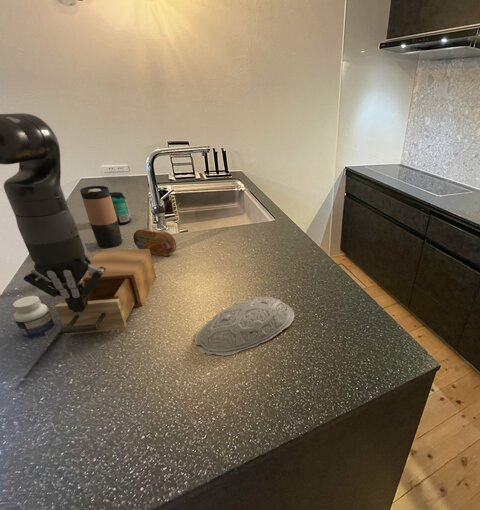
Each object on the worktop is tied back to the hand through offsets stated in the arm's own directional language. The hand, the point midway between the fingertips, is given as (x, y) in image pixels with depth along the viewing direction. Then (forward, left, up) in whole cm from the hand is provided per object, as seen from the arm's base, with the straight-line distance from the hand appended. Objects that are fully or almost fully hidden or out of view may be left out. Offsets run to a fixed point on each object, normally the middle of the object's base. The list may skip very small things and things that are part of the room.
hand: (80, 309), depth 64 cm
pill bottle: (-11, +4, -9) cm, 15 cm away
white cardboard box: (-14, +30, -9) cm, 34 cm away
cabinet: (0, +20, -9) cm, 22 cm away
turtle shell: (+33, 0, -9) cm, 34 cm away
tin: (+3, +44, -9) cm, 45 cm away
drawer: (0, +7, -8) cm, 11 cm away
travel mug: (-14, +53, -9) cm, 56 cm away
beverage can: (-17, +74, -9) cm, 76 cm away
